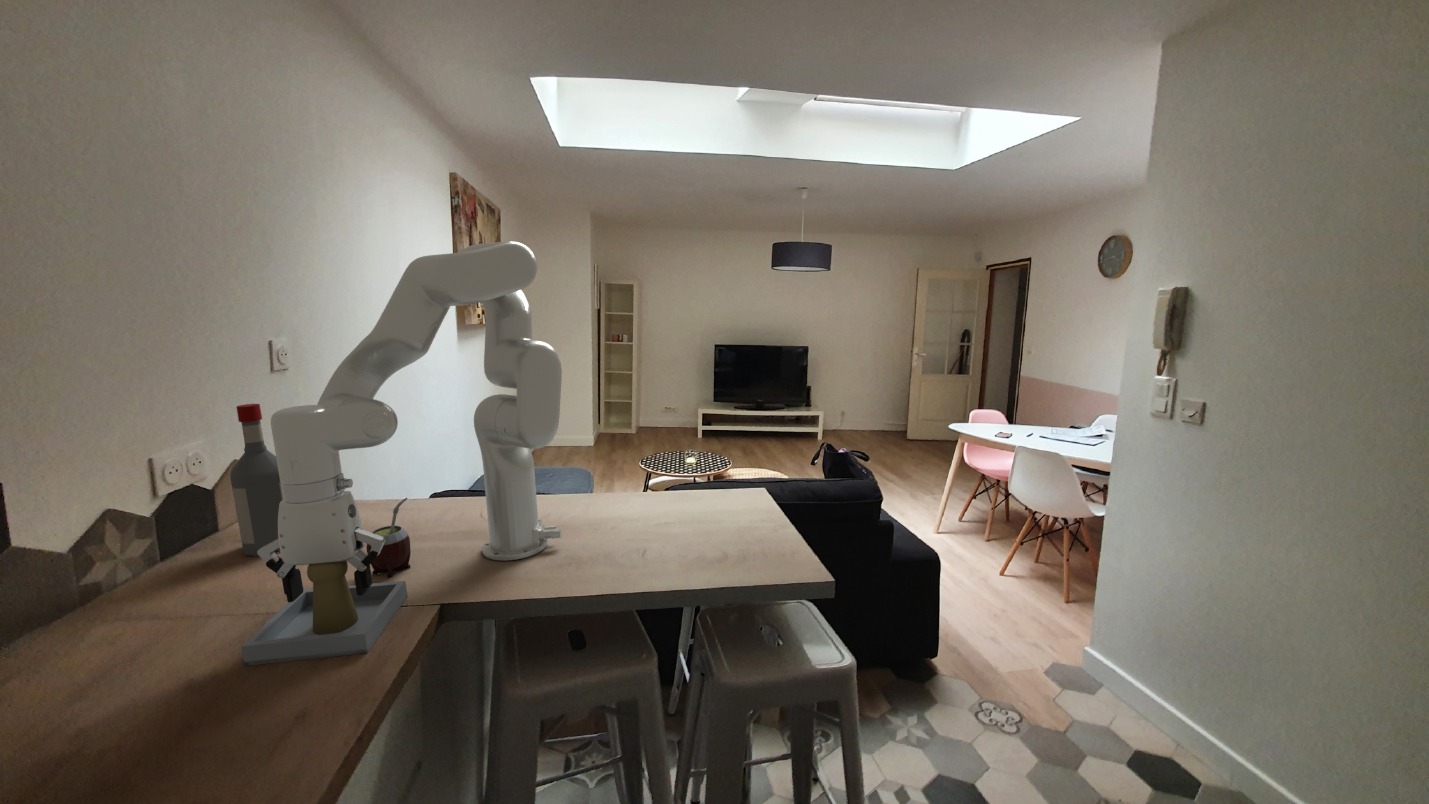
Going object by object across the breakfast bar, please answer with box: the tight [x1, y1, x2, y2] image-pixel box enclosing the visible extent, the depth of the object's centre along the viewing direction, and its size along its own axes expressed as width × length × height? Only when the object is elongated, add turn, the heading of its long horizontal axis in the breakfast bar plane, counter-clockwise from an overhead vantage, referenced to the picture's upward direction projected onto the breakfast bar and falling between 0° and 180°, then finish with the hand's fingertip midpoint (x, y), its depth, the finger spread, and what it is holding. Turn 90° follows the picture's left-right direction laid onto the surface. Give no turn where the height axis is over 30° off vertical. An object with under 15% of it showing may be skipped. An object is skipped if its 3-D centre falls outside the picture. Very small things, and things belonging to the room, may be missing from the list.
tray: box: [240, 580, 408, 667], centre depth 89 cm, size 16×16×3 cm
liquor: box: [229, 403, 283, 556], centre depth 118 cm, size 9×9×30 cm
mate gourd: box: [366, 497, 412, 579], centre depth 107 cm, size 8×8×15 cm
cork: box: [306, 561, 358, 635], centre depth 89 cm, size 6×6×11 cm
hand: (330, 594), depth 89 cm, fingers open, 9 cm apart
